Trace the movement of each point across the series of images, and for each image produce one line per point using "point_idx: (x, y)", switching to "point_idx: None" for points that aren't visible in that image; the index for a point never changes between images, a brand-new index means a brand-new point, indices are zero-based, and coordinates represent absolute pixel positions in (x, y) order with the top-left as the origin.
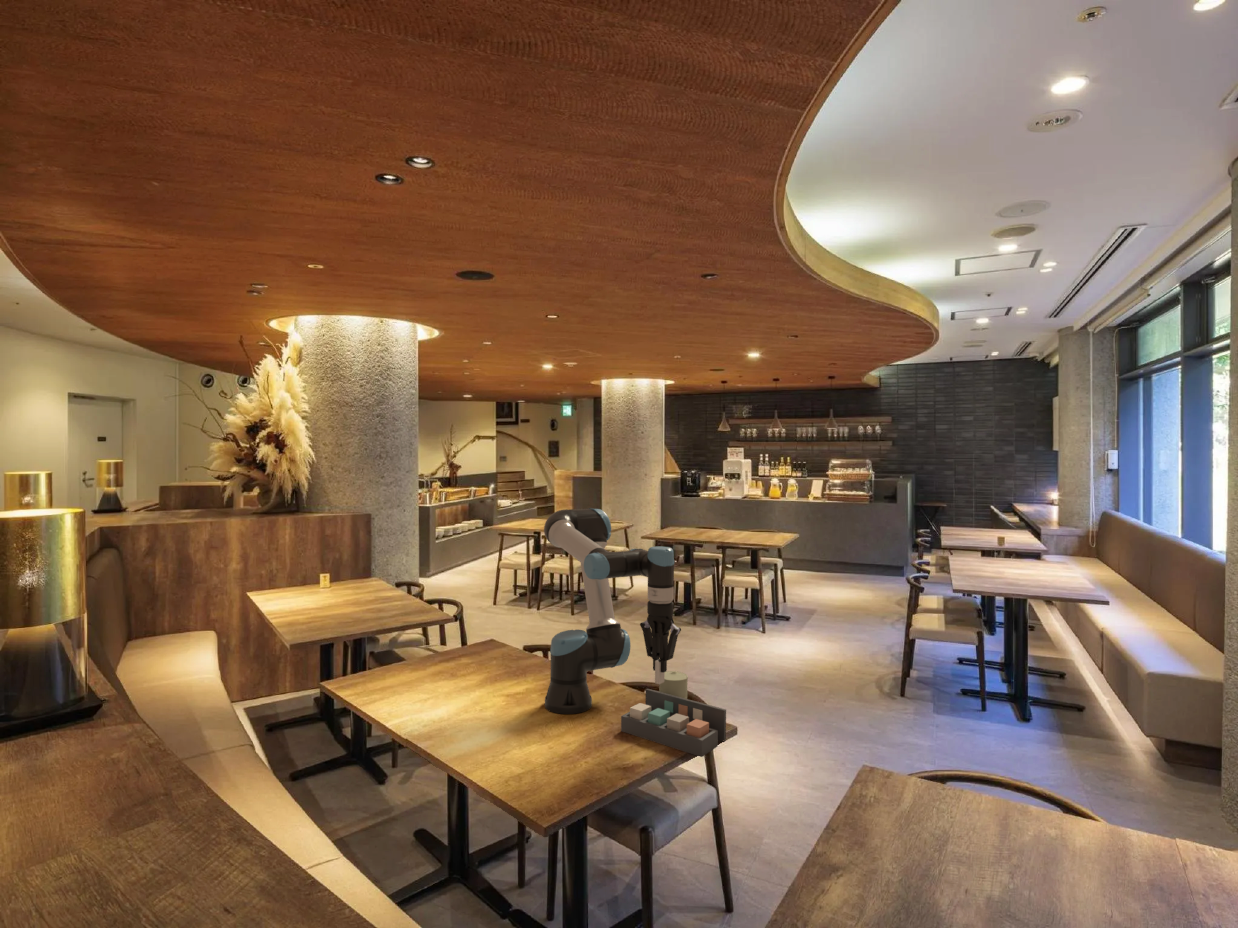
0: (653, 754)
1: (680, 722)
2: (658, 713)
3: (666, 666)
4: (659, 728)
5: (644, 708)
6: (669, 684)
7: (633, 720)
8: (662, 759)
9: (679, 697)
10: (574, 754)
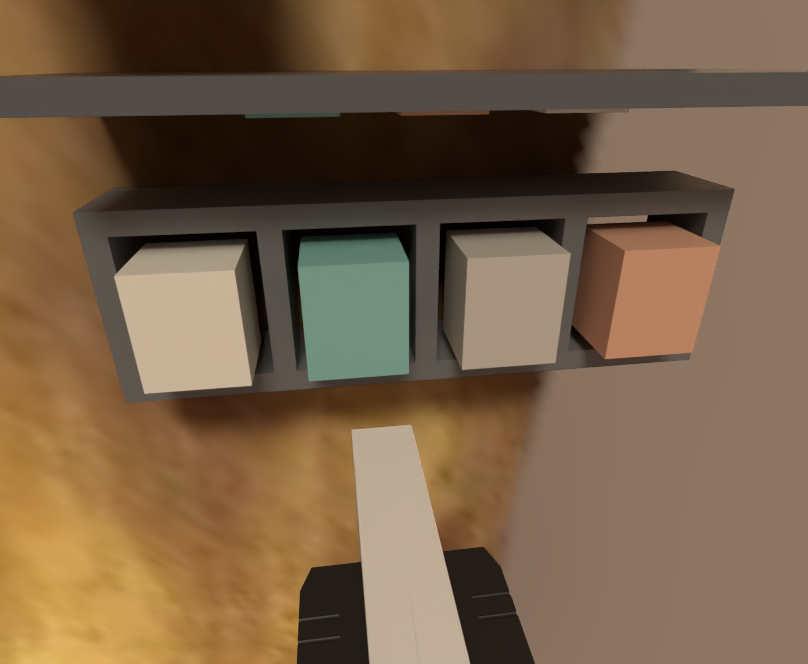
0: (452, 433)
1: (553, 350)
2: (368, 343)
3: (515, 616)
4: (422, 377)
5: (230, 337)
6: None
7: (229, 392)
8: (507, 441)
9: (397, 86)
10: (209, 612)
